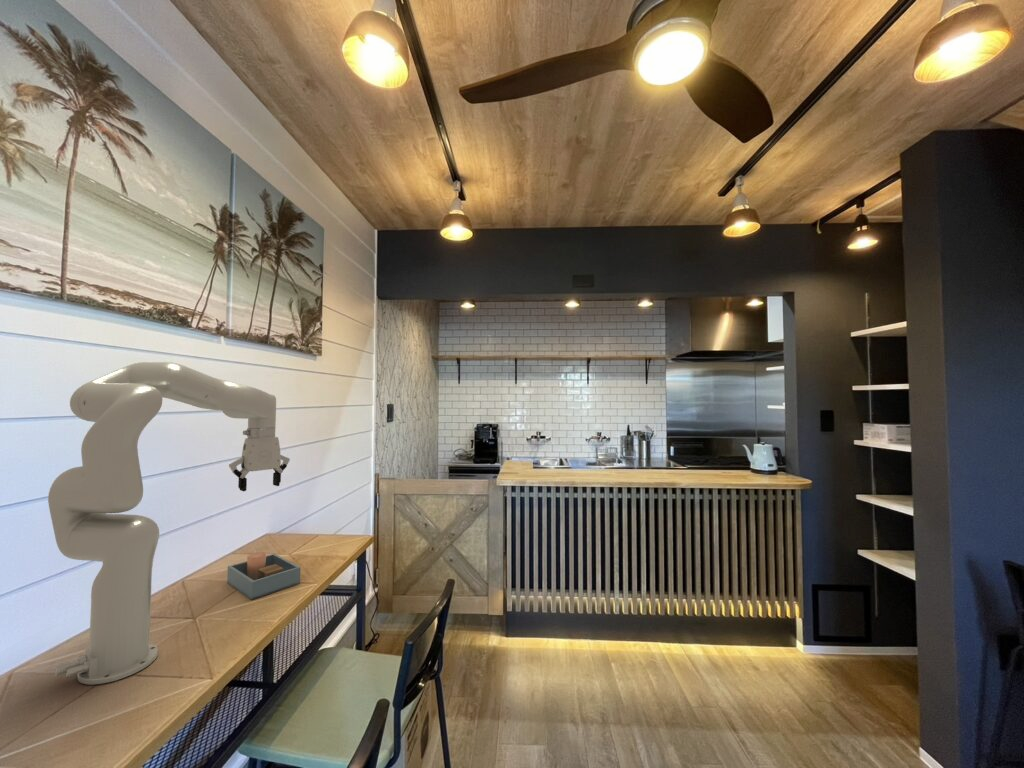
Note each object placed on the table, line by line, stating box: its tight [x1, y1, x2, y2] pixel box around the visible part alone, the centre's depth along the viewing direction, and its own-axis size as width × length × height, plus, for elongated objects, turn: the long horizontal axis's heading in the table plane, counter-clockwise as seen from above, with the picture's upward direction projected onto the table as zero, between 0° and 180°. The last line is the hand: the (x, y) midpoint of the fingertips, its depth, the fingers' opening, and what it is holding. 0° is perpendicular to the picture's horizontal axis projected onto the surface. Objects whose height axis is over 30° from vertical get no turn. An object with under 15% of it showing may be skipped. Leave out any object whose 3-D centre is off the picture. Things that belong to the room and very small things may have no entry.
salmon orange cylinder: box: [246, 551, 267, 580], centre depth 133 cm, size 5×5×7 cm
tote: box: [226, 553, 302, 601], centre depth 130 cm, size 14×18×5 cm
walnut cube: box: [258, 564, 283, 579], centre depth 127 cm, size 5×5×5 cm
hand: (260, 488), depth 134 cm, fingers open, 9 cm apart
